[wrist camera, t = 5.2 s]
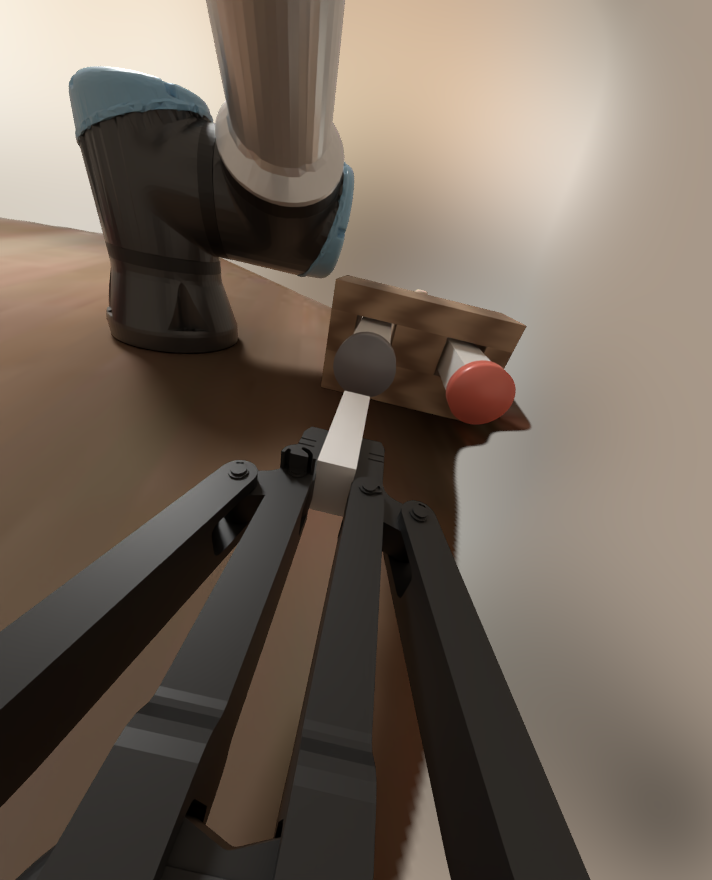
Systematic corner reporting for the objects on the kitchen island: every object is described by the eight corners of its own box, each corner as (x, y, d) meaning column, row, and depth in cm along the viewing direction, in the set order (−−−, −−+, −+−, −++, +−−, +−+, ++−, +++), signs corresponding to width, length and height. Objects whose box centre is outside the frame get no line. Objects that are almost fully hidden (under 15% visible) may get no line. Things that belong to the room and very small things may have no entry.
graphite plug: (329, 389, 24) (338, 328, 21) (349, 350, 35) (357, 305, 32) (386, 403, 24) (404, 344, 21) (389, 360, 35) (401, 316, 32)
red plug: (439, 416, 24) (463, 359, 21) (426, 369, 35) (441, 326, 32) (496, 430, 24) (528, 375, 21) (466, 378, 35) (485, 337, 32)
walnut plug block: (320, 387, 35) (336, 278, 28) (332, 366, 41) (347, 275, 34) (474, 424, 35) (526, 326, 28) (462, 397, 41) (501, 313, 35)
